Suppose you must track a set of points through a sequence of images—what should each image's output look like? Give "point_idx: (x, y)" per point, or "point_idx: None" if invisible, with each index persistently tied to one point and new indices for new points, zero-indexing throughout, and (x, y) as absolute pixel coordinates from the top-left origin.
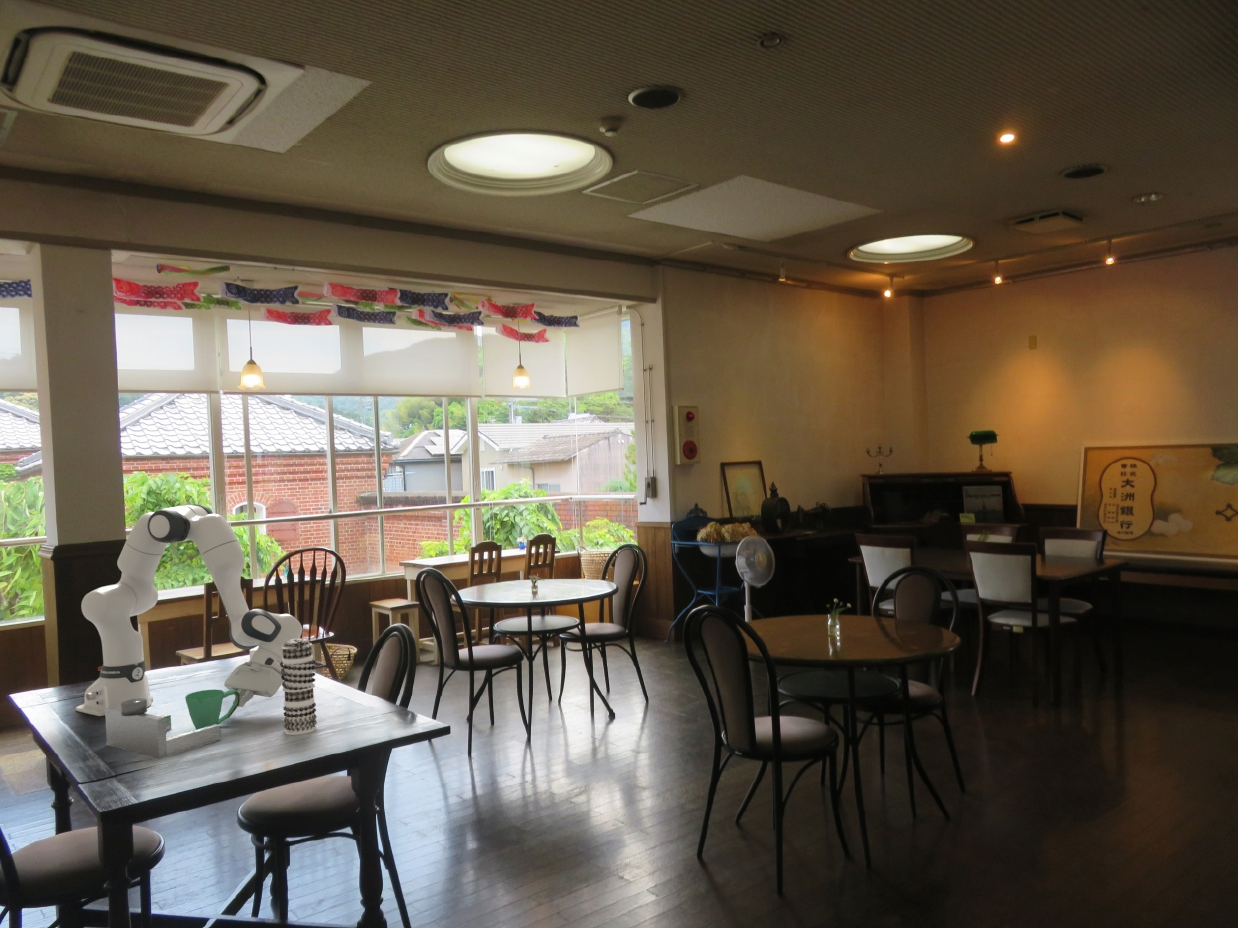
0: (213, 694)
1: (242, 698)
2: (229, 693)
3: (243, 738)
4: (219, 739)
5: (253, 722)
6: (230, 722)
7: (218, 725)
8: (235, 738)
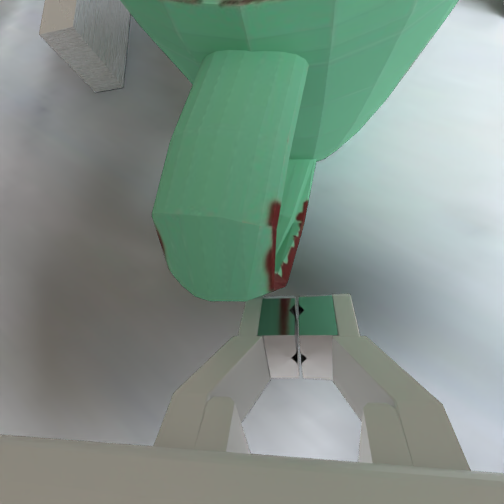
0: (415, 13)
1: (235, 340)
2: (179, 123)
3: (22, 152)
4: (95, 88)
5: (173, 326)
6: (302, 261)
7: (42, 31)
8: (52, 135)
